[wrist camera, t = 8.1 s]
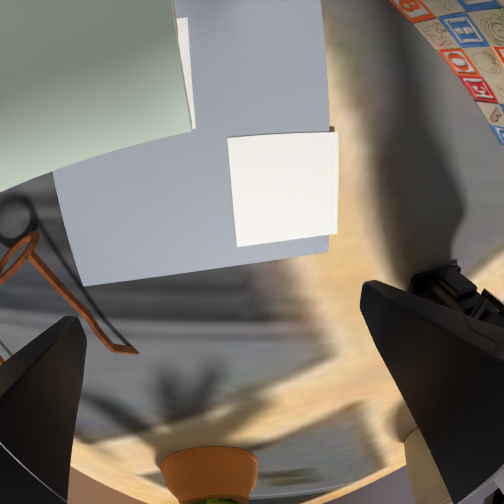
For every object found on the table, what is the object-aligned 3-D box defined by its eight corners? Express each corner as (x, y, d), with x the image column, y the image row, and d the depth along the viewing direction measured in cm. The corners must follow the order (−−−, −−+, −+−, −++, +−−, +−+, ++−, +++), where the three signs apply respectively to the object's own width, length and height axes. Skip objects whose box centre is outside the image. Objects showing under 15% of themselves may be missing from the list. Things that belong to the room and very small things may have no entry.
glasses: (45, 219, 18) (14, 249, 14) (140, 349, 24) (135, 393, 20) (-38, 288, 19) (-65, 319, 14) (44, 386, 25) (32, 423, 20)
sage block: (192, 123, 12) (191, 131, 6) (59, 160, 11) (-18, 200, 6) (171, -6, 9) (161, -80, 4) (39, 37, 8) (-40, 10, 3)
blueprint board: (334, 249, 23) (335, 251, 23) (84, 284, 20) (83, 286, 20) (324, -22, 14) (326, -24, 14) (43, 10, 12) (40, 9, 11)
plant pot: (448, 426, 47) (483, 480, 33) (386, 463, 47) (416, 522, 33) (459, 391, 40) (506, 455, 26) (385, 436, 40) (426, 512, 26)
